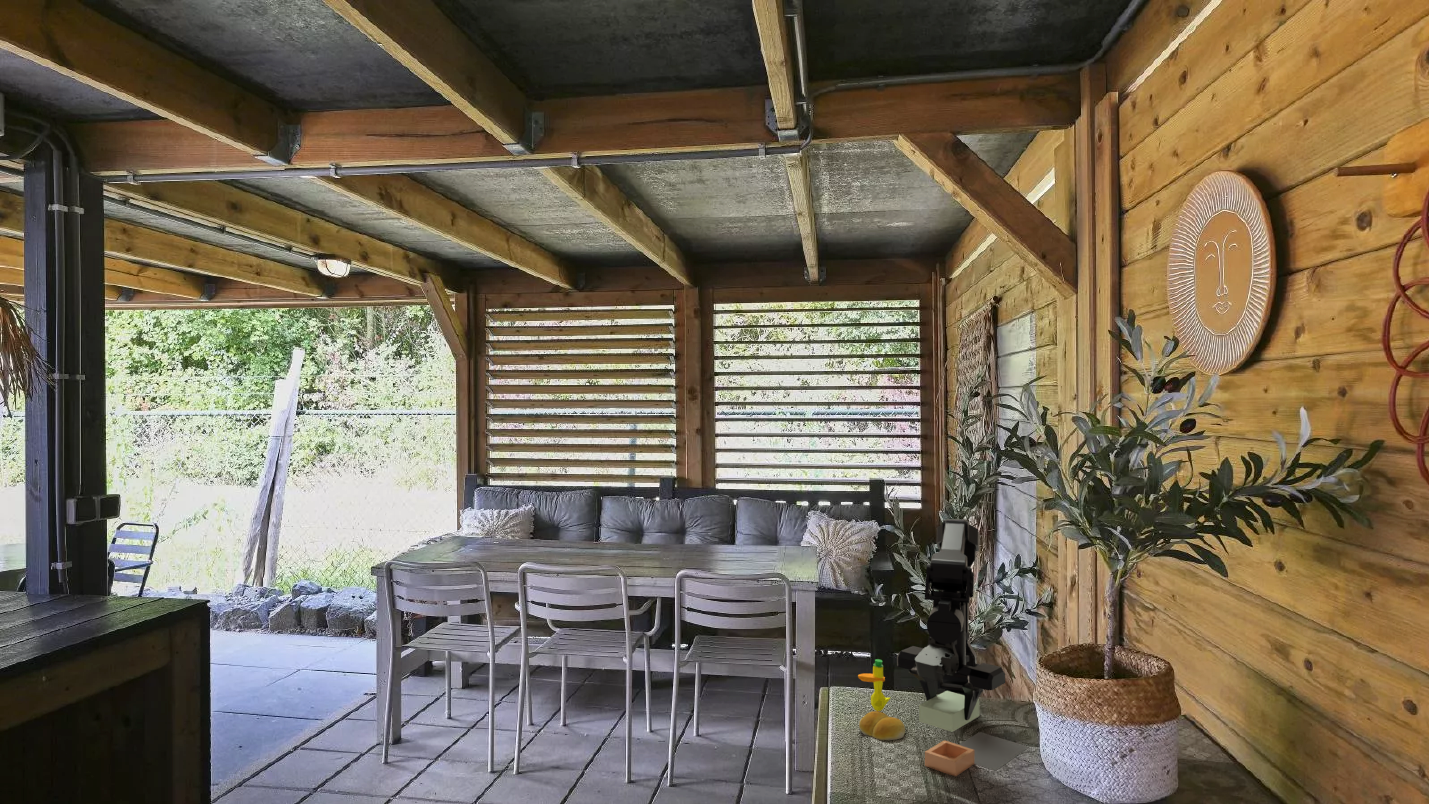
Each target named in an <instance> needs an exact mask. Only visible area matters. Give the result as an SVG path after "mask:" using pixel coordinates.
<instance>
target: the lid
mask: <svg viewBox="0 0 1429 804" xmlns="http://www.w3.org/2000/svg"><path fill="white" fill-rule="evenodd" d="M964 701H965V695H961V694H957V693H954V692H950V691H945V690H944V691H943V692H941V693H939V694H938V695H937V696H936V697H934V698H932V699H930V700H928V701H927V700H926V701H924V702H923V703H920V704H919V705H918V719H919V720H918V722H919V723H923V724H926V725H929V726H932V727H936V728H938V729H942V730H945V731H948V732H950V733H951V732H952V733H953V732H955V731H957V730H958V729H960V728H962V727H963V726H965V725H967V723H968V722H969V723H971V722H973V721H974V720H976V719H978V718H980V717H979V714H980V699H979V698H978V700H977V703H976V705H975V707H974V710H973V712H972V714H971V717H970V719H969V720H965V716H964ZM977 717H978V718H977ZM975 718H976V719H975ZM972 720H973V721H972ZM970 721H971V722H970ZM969 723H968V724H969Z"/></svg>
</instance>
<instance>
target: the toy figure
mask: <svg viewBox="0 0 1429 804" xmlns="http://www.w3.org/2000/svg"><path fill="white" fill-rule="evenodd" d="M857 678H858V679H859V680H861V681H862V682H868V683H873V689H874V690H873V691H874V692H873V693H872V694H871V696H870V704H871V707H872V708H873V710H874V711H880V712H882V711H883V710H884V708H885V707H886V705H887V704H888V703H889V701H890V699H891V697H886V696H885V694H884V693H883V685H884V682H886V679H885V678H886V677H885V676H884V665H883V660H882V659H879V658H877V659H874V663H873V666H872V673H860V674H858V675H857Z"/></svg>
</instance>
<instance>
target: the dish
mask: <svg viewBox="0 0 1429 804" xmlns="http://www.w3.org/2000/svg"><path fill="white" fill-rule="evenodd" d="M974 765H975V764H974V750H973V749H970V748H967V747H964V746H961V745H959V744H957V743H954V742H952V741H951V742H950V741H948V740H945V739H944V740H942V741H940V742H939V743H937V744H936V745H934V746H932V747H930V748H928V749H927V750H925V751H924V766H925V767H927V768H929V769H933V770H936V771H938V772H941V773H944V774H946V775H950V776H953V777H957V776H959V775H960V774H962V773H963V772H965V771H966V770H968V769H969V768H971V767H972V766H974Z"/></svg>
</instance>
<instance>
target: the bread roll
mask: <svg viewBox="0 0 1429 804" xmlns="http://www.w3.org/2000/svg"><path fill="white" fill-rule="evenodd" d="M858 727H859V730H860V732H861V733H862V734H863V735H864V736H866V737H868V736H869V737H873V738H874V739H876V740H880V741H893V740H894V741H895V740H899V739H902V738H904V737H905V732H906V727H905V725H904V723H903V721H902V720H901V719H899V718H898V717H894V716H889V715H887V714H886V713H884V712H882V711H875V710H874V711H869V712H867V713H866V714H865V715H864V716H862V717H861V718H860V720H859V721H858Z"/></svg>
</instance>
